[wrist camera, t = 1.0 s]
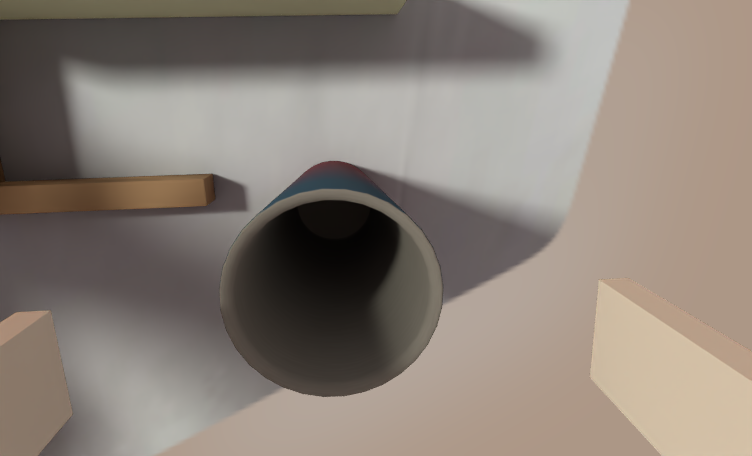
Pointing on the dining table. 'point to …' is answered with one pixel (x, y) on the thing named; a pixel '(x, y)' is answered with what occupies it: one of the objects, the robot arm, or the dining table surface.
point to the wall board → (190, 8)
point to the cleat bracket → (105, 193)
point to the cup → (331, 286)
